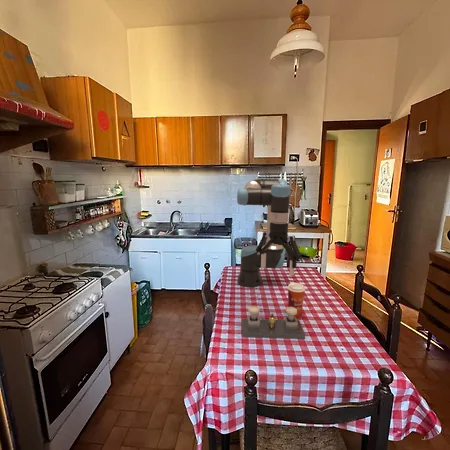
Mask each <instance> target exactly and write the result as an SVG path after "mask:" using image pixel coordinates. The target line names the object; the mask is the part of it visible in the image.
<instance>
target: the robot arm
mask: <svg viewBox="0 0 450 450" xmlns="http://www.w3.org/2000/svg"><path fill="white" fill-rule="evenodd" d="M236 194H237V195H236V200H237V202H236V203H237V204H238V205H240V206H267V212H266V213H267V216H266V217H267V218H266V231H264V232H263V233H262V237H261V239H260V242H259V243H258V245H257V244H256V245H246V246H244V247H242V248H241V249H240V251H241V252H240V271H239V274H238V276H237V284H238V285H240V286H242V287H246V288H256V287H260V286H261V285H262V281H263V280H262V277H261V274H260V273H261V272H260V269H262V270H263V269H281V268H283V267H284V264H285V258H286V252H287V254H288V256H289V257H290V260H289V272H288V273H289V277H293V276H294V275H295V269H296V268H297V263H298V261H300V260H301V259H302V257H303V256H302V255H301V252H300V249H299V247H298V245H297V242H296V235H289V234H288V232H289V217H290V216H289V215H290V214H289V213H290V197H291V187H290V185H289V184H288V182H287V180H286V179H283V178H257V179H252V180H250V181H248V182H247V183H246V184H245V185H244V187H240V188H238V189H237V192H236ZM288 241H289V242H288Z"/></svg>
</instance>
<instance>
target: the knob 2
mask: <svg viewBox="0 0 450 450" xmlns="http://www.w3.org/2000/svg"><path fill="white" fill-rule="evenodd" d="M285 313H286V314H287V317H288V320H289V321H294V315H296V314H297V309H296V308H294V307H288V306H287V307H286V308H285Z"/></svg>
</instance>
